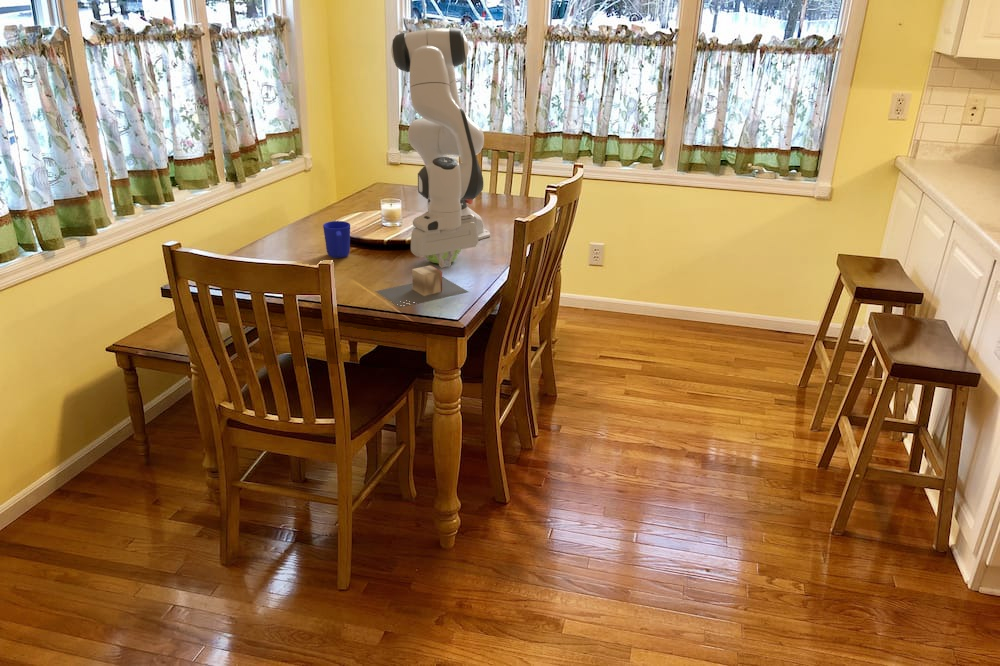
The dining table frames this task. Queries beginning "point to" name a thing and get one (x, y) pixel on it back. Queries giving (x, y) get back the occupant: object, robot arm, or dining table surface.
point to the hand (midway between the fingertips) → (445, 266)
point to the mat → (411, 295)
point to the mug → (337, 238)
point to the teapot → (435, 260)
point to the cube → (427, 280)
